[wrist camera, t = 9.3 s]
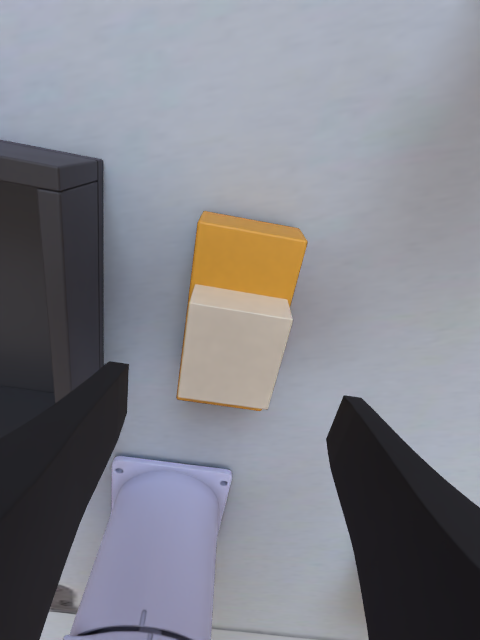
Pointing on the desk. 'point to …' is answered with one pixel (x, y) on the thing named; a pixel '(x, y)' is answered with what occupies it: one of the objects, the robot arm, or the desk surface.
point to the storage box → (48, 277)
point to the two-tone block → (238, 310)
